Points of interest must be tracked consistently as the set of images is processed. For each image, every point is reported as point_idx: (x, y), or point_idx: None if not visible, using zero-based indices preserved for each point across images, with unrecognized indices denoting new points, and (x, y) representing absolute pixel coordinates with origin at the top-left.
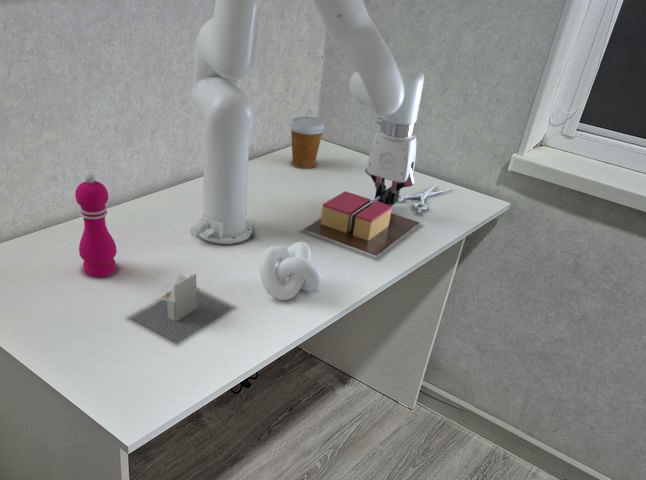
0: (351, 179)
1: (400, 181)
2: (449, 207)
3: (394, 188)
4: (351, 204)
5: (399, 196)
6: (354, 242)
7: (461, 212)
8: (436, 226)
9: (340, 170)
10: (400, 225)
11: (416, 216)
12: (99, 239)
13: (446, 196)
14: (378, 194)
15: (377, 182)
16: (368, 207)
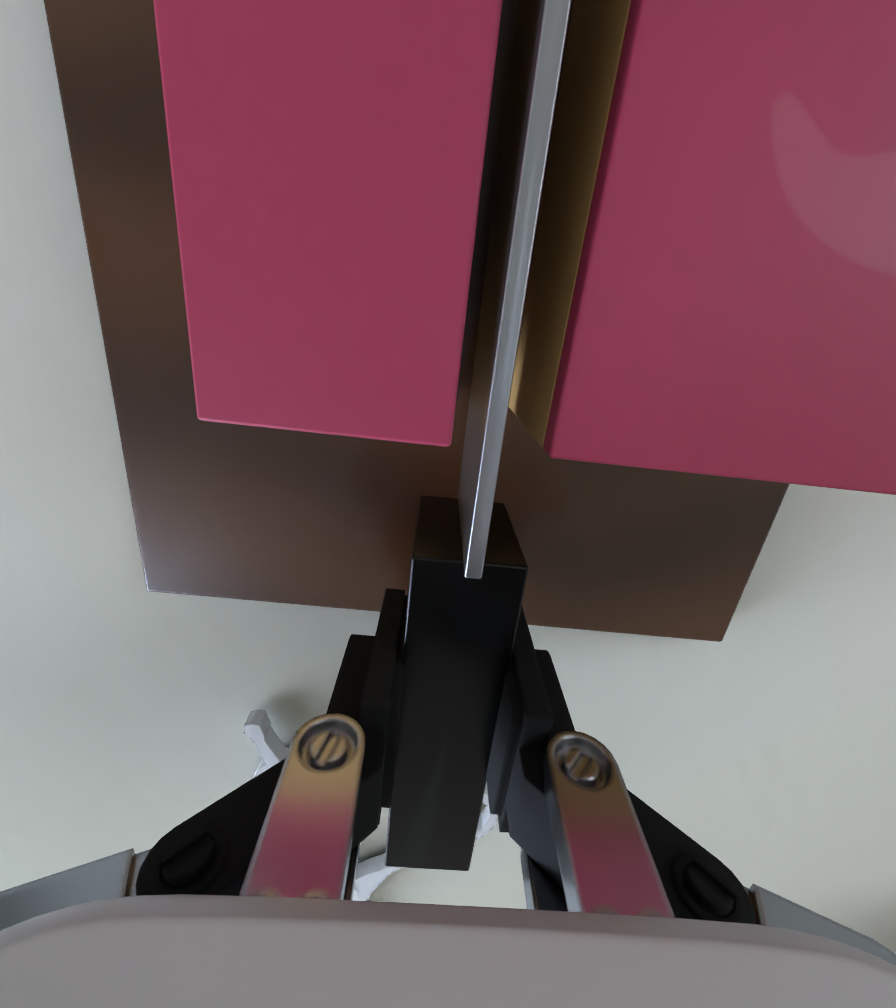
0: (768, 874)
1: (5, 946)
2: None
3: (306, 774)
4: (814, 2)
5: None
6: None
7: (101, 840)
8: (80, 629)
9: (844, 922)
10: (228, 457)
11: (258, 683)
12: None
13: None
14: (519, 665)
15: (600, 806)
16: (476, 90)
